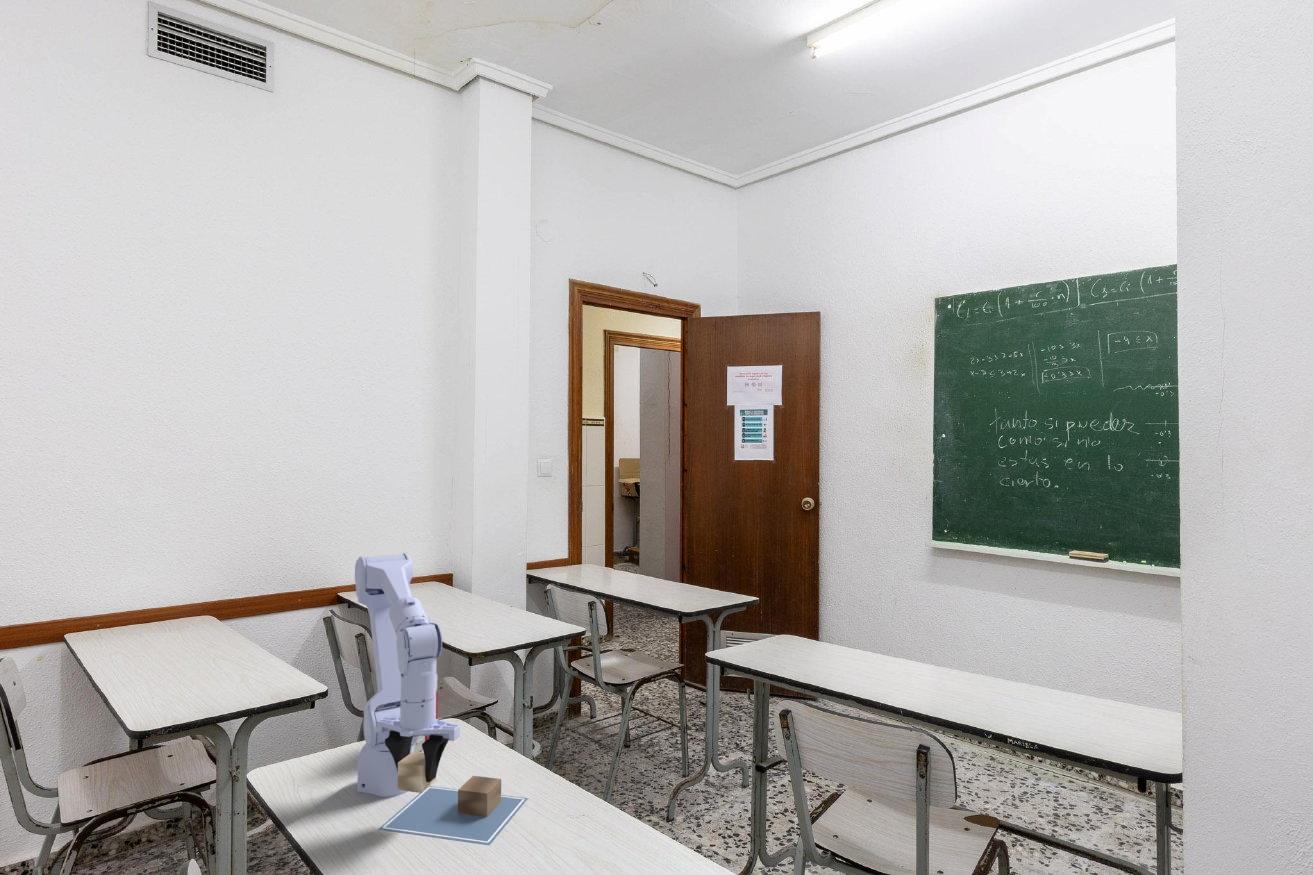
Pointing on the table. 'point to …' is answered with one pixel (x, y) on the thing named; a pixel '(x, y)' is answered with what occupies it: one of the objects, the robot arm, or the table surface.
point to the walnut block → (479, 796)
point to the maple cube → (413, 773)
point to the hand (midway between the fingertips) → (417, 777)
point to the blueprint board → (451, 817)
